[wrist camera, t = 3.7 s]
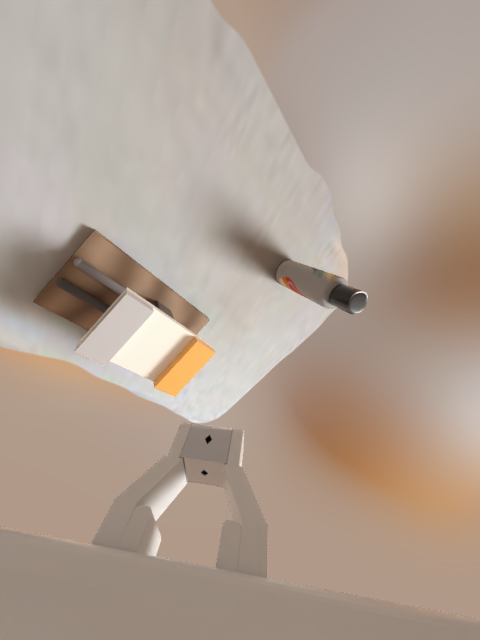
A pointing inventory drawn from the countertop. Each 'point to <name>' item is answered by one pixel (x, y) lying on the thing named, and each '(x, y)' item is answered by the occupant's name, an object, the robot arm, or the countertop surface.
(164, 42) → the countertop surface
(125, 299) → the block
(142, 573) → the robot arm
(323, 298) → the lotion bottle
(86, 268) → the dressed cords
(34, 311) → the countertop surface
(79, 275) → the mounting board
